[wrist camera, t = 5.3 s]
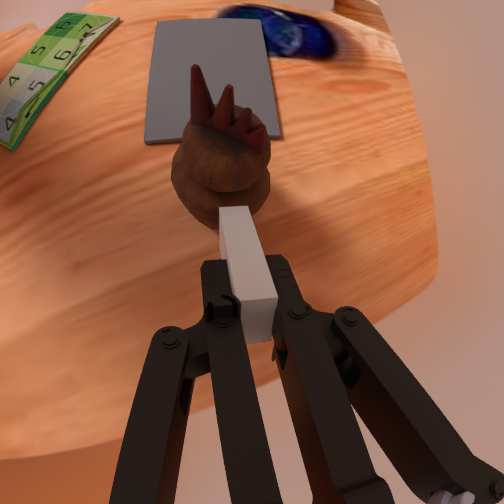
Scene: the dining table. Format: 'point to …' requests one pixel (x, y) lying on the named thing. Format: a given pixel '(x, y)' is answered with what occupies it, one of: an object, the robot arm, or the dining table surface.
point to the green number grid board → (46, 70)
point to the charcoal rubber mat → (207, 72)
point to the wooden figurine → (220, 155)
